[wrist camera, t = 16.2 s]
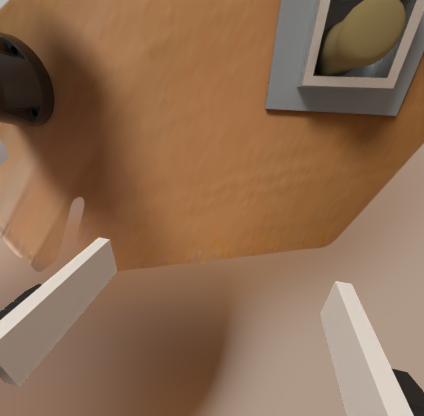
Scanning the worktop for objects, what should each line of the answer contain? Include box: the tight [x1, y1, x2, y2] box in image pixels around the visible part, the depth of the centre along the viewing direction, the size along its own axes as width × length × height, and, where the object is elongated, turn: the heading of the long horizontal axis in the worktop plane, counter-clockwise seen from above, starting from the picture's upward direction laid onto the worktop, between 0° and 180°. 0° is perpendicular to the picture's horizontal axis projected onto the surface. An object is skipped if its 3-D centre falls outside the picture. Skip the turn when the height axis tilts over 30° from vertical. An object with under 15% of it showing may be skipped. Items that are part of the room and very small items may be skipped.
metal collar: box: [297, 0, 424, 90], centre depth 25 cm, size 10×10×5 cm
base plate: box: [265, 0, 424, 116], centre depth 27 cm, size 18×16×1 cm
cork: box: [315, 0, 406, 77], centre depth 23 cm, size 6×6×11 cm
